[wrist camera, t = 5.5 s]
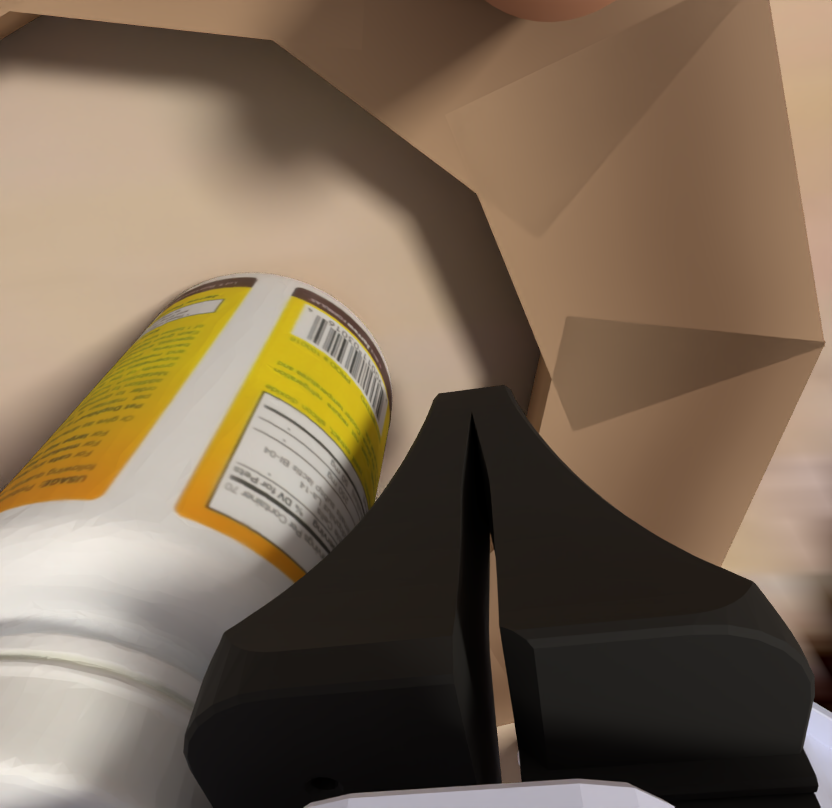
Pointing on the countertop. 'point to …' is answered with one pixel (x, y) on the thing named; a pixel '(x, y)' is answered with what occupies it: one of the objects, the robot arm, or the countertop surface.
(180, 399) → the supplement bottle
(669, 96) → the faceted tan ring
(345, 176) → the countertop surface
